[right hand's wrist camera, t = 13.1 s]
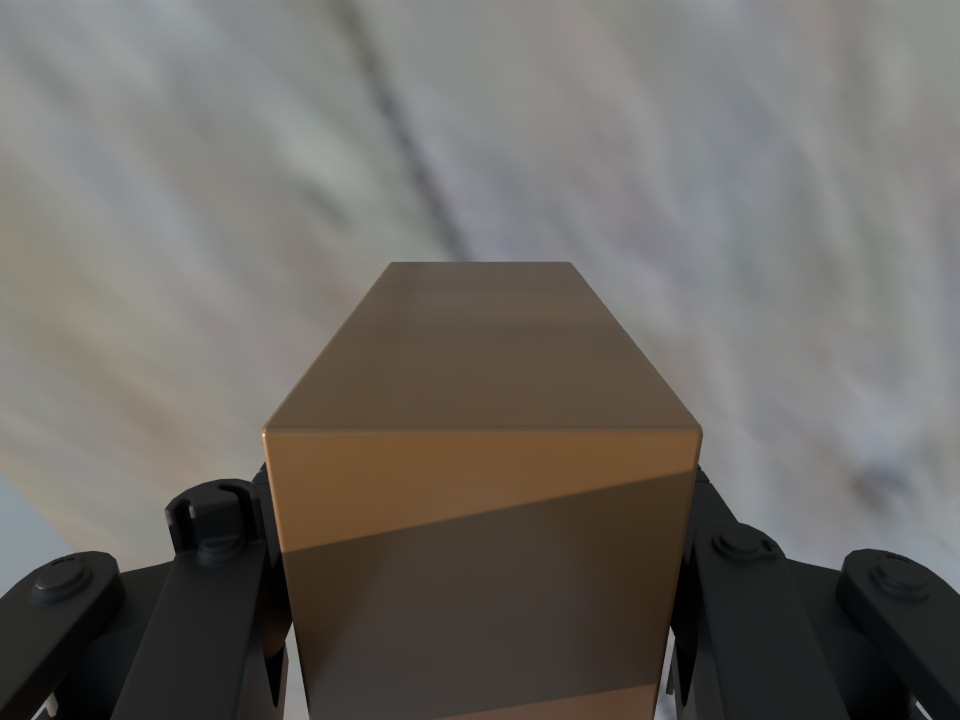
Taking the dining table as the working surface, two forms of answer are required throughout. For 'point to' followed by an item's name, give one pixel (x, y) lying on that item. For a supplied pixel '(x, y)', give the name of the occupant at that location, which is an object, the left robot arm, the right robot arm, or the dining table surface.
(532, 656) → the bar
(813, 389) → the dining table surface
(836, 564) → the dining table surface
